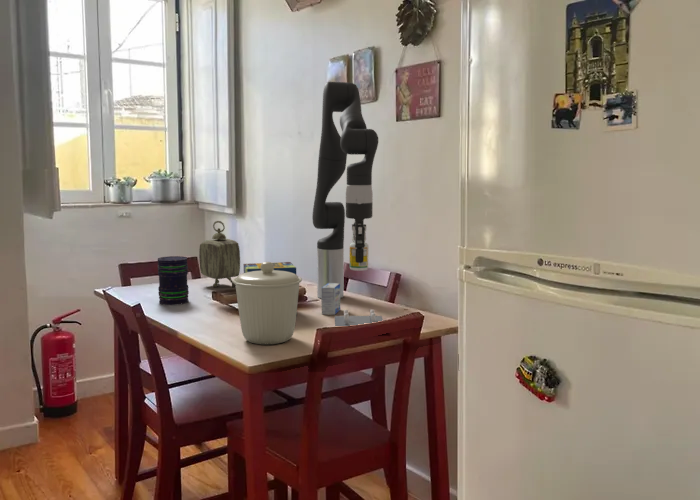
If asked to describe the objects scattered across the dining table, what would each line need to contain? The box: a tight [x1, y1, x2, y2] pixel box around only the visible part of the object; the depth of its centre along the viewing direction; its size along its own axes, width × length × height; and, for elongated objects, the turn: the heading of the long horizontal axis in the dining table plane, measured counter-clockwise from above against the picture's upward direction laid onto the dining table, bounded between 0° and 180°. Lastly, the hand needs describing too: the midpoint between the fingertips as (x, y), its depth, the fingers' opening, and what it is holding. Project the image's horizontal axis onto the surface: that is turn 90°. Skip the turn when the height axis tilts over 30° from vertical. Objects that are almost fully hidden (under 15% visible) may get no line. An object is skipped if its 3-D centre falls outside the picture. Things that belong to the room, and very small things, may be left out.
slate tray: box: [334, 309, 384, 327], centre depth 193 cm, size 16×14×4 cm
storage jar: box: [157, 255, 190, 306], centre depth 227 cm, size 10×10×15 cm
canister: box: [232, 261, 303, 345], centre depth 179 cm, size 18×18×21 cm
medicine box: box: [320, 283, 341, 316], centre depth 213 cm, size 8×4×9 cm, turn 168°
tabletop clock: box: [198, 220, 241, 288], centre depth 255 cm, size 14×9×25 cm, turn 46°
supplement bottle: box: [349, 235, 369, 272], centre depth 191 cm, size 5×5×10 cm
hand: (359, 260), depth 191 cm, fingers closed on supplement bottle, 5 cm apart
